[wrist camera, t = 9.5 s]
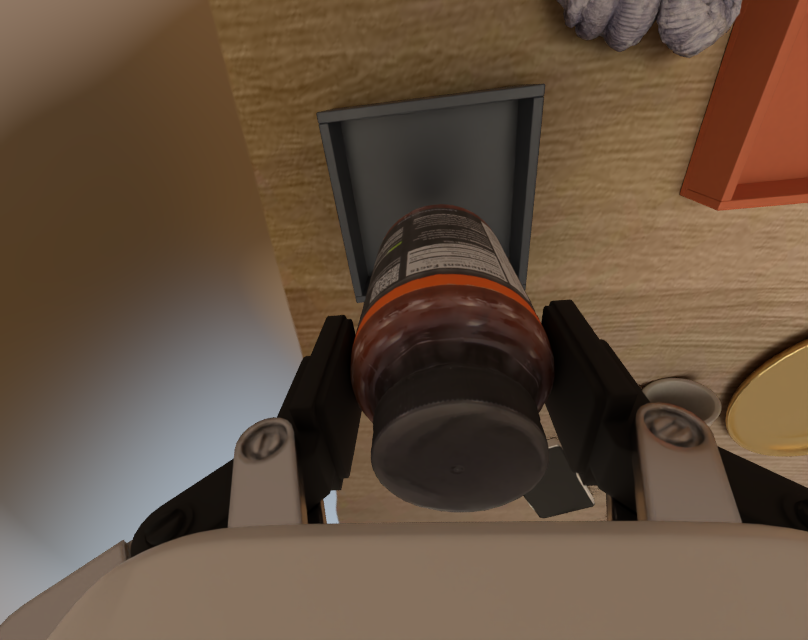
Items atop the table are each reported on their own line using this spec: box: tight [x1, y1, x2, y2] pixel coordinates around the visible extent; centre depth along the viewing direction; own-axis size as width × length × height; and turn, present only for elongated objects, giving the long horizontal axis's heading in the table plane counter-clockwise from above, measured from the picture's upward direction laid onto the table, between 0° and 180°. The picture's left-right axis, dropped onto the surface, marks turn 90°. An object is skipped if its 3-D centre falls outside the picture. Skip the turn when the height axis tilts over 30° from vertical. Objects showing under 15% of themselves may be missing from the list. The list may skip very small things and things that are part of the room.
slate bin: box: [317, 84, 545, 303], centre depth 25 cm, size 13×13×4 cm
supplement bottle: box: [350, 204, 555, 512], centre depth 12 cm, size 6×6×11 cm
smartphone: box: [523, 438, 595, 518], centre depth 46 cm, size 8×1×15 cm
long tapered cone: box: [642, 378, 721, 426], centre depth 39 cm, size 6×6×19 cm
